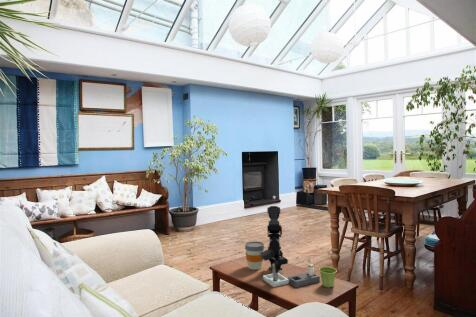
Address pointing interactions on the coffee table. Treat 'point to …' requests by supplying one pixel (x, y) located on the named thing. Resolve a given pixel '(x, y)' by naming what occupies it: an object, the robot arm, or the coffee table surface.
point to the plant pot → (328, 276)
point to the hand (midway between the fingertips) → (275, 271)
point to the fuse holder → (303, 279)
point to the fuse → (310, 270)
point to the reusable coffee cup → (254, 254)
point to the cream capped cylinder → (274, 273)
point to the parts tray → (279, 282)
